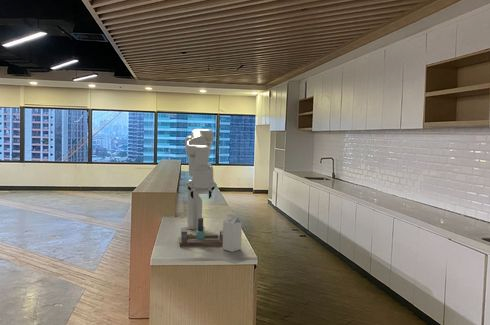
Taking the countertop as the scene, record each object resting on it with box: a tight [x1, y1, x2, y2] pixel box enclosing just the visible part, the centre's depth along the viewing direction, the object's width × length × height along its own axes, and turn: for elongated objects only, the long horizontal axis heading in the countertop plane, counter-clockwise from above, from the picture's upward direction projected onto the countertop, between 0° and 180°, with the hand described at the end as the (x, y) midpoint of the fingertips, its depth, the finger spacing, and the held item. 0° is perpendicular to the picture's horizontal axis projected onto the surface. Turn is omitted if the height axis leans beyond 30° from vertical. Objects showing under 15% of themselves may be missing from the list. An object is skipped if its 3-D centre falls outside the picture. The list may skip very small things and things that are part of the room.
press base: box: [178, 227, 223, 247], centre depth 248 cm, size 12×25×8 cm, turn 99°
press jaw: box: [195, 217, 205, 239], centre depth 247 cm, size 7×4×12 cm, turn 9°
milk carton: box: [222, 213, 243, 253], centre depth 236 cm, size 7×7×19 cm
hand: (201, 198), depth 250 cm, fingers open, 9 cm apart
